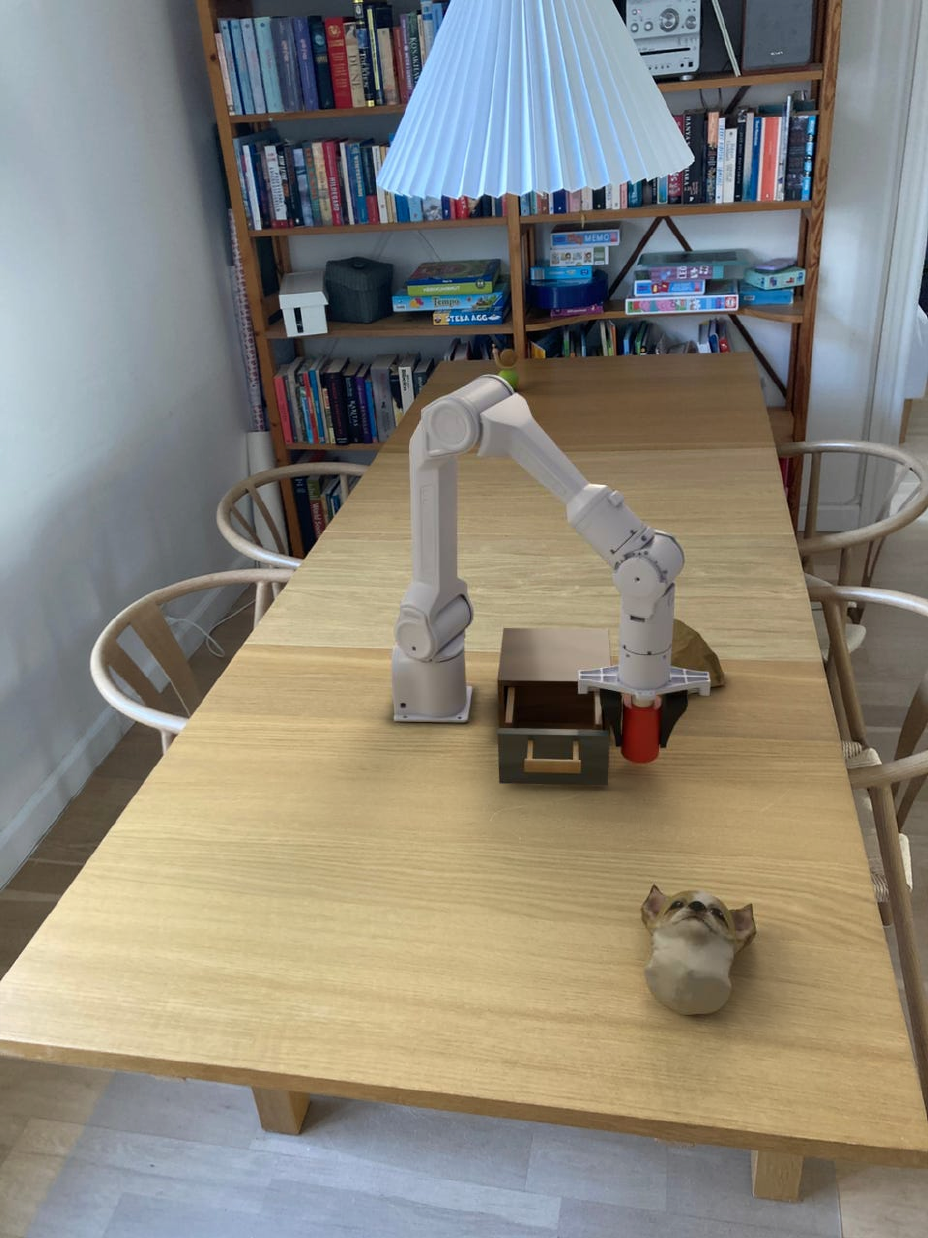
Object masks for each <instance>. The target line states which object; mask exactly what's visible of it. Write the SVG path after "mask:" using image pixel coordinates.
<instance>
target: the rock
mask: <svg viewBox="0 0 928 1238" xmlns="http://www.w3.org/2000/svg"><path fill="white" fill-rule="evenodd" d="M670 666H671V667H676V668H682V669H687V670H692V671H699V672H709V676H710V680H711V684H710V688H713V687H717V686H722V685H724V684H726V680H725V672H724V671H723V668H722V665H721V662H720V658H719V656H718V655H717V653H716V652H715V651H713V649H712V648H711V647H710V646H709V645H708V644H707V642H706V641H705V639H704V638H703V636H701V634H700V633H699V632H698V631H696V630H695V629H694V628H692V627H691V626H690V625H687V624H686V623H685V622H684V621H682V620H680V619H677V618H674V621H673V636H672V649H671V665H670ZM692 694H695V692H688V695H687V696H689V695H692ZM657 696H659V697H660V698H661V700H662V694H660V695H657Z"/></svg>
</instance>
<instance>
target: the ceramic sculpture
mask: <svg viewBox="0 0 928 1238" xmlns="http://www.w3.org/2000/svg"><path fill="white" fill-rule="evenodd" d="M753 907H754V905H753V903H748V904H746V905H745V906H743V907H741V908H736V909H733V908H732V909H728V907H727V905H726V904H725V903H724V902H723V901H722V900H720V899H719V898H718V897H717V896H715V895H713V894H711V893H708V892H705V891H700V890H682V891H680V892H677V893H675V894H673V895H672V896H668V895H666V894H664V893H663V892H662V891H661V889H659V887H658V886H657V885H656V884H655V883H653V884H652V886H651V888H650V890H649V894H648V896H647V897H646V899H645V900H644V902H643V903H642V905H641V907H640V914H641V916H640V917H641V921H642V923H643V925H644V926H645V928H646V929H647V931H648V932H649V934H650V935H651V936H652V938H651V942H650V944H651V957H650V960H648V961H647V963H646V965H645V966H644V968H643V975H644V981H645V984H646V987H647V989H648V991H649V992H650V994H651V996H653V997H654V999H655V1000H656V1001H657V1002H658V1003H660V1004H662V1005H663V1006H666V1007H668V1008H669V1009H672V1010H673V1011H674V1012H676V1013H678V1014H680V1015H684V1016H688V1015H689V1016H690V1015H692V1016H693V1015H697V1014H698V1015H707V1014H712V1013H714V1012H716V1011H718V1010H720V1009H721V1008H722V1007H723V1006H724V1005H725V1003H727V1001H728V999H729V998H730V996H731V994H732V989H733V987H732V983H731V980H730V978H729V975H730V970H731V966H732V964H733V962H734V960H735V955H736V954H738V953H740V952H741V951H743V950H744V949H745V948H747V947H748V946H749V945H751V944H752V942H753V940H754V938H755V936H756V934H757V927H756V922H755V918H754V909H753Z"/></svg>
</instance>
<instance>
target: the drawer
mask: <svg viewBox="0 0 928 1238" xmlns="http://www.w3.org/2000/svg"><path fill="white" fill-rule="evenodd" d="M602 728H603V723H602V707H601V705H600V693H599V691H588V693H587V694H579V693H578V687H568V686H508V697H507V707H506V718H505V728H499V727H497V764H498V784H503V785H504V784H505V785H507V784H508V785H541V786H542V785H543V786H546V785H547V786H549V785H550V786H554V785H555V786H585V787H586V786H587V787H588V786H589V787H591V786H592V787H608V786H609V770H610V769H609V767H610V766H609V765H610V742H611V733H609V730H602ZM609 741H610V742H609Z"/></svg>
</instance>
